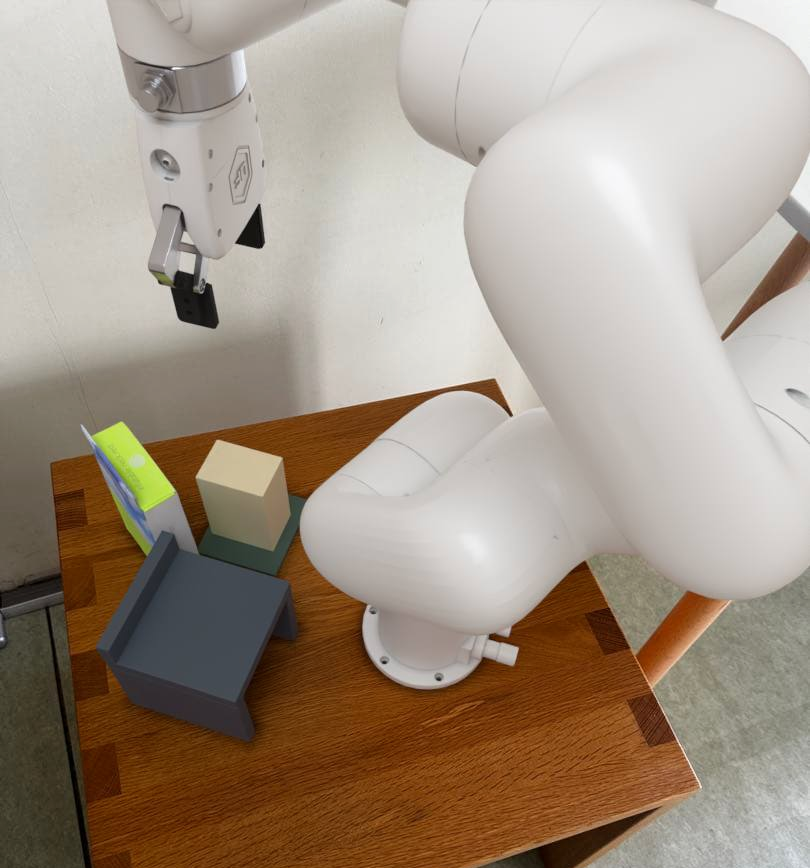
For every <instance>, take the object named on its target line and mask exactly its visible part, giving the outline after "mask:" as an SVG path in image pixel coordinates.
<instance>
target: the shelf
mask: <svg viewBox="0 0 810 868" xmlns="http://www.w3.org/2000/svg"><path fill="white" fill-rule="evenodd" d="M291 586H292V585H291V582H290V581H288V580H285V579H281V578H278V577H274V576H270V575H267V574H264V573H260V572H257V571H253V570H250V569H247V568H243V567H240V566H237V565H233V564H230V563H227V562H223V561H220V560H217V559H213V558H210V557H207V556H203V555H200V554H199V555H198V554H195V553H191V552H188V551H185V550H181V549H179V546H178V543H177V540H176V538H175V535H174V534H173V533H169V532H166V531H163V530H162V531H161V533H160V535H159V537H158V538H157V540H156V542H155V544H154V545H153V547H152V549H151V551H150V552H149V554H148V556H146V557H145V559H144V561H143V562H142V565H141V566H140V568H139V569H138V572H137V573H136V574H135V576H134V579H133V580H132V582H131V583H130V585H129V587H128V589H127V591H126V592H125V594H124V596H123V598H122V599H121V601H120V602H119V605H118V607H117V608H116V610H115V611H114V614H113V615H112V617H111V619H110V620H109V622H108V624H107V625H106V627H105V629H104V631H103V632H102V634H101V635H100V638H99V640H98V641H97V643H96V645H95V649H96V650H97V652H98V654H99V655H100V656H101V658H102V660H104V662H105V664H106V665H107V667H108V668H109V670H110V672H111V673H112V675H113V676H114V678H115V679H116V681H117V682H118V684H119V685H120V687H121V688H122V690H123V691H124V693H125V694H126V696H127V697H128V699H129V700H130V702H131V704H132V705H135V706H138V707H142V708H145V709H147V710H150V711H153V712H157V713H160V714H163V715H166V716H169V717H172V718H175V719H178V720H180V721H184V722H187V723H189V724H194V725H197V726H200V727H203V728H205V729H208V730H211V731H215V732H218V733H221V734H224V735H227V736H228V737H229V736H230V737H233V738H236V739H239V740H242V741H245V742H248V743H251V742H252V741H253V737H254V735H255V733H256V728H255V725H254V723H253V720H252V717H251V714H250V712H249V709H248V706H247V702H246V699H245V697H244V696H245V694H246V692H247V689H248V688H249V685H250V683H251V681H252V678H253V676H254V675H255V672H256V669H257V667H258V665H259V662H260V661H261V659H262V656H263V654H264V651H265V650H266V647H267V646H268V643H269V641H270V638H271V636H276V637H278V638H282V639H286V640H288V641H292V642H295V640H296V637H297V635H298V633H299V627H298V621H297V615H296V610H295V609H296V608H295V604H294V603H295V602H294V598H293V591H292V587H291Z"/></svg>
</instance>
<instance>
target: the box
mask: <svg viewBox="0 0 810 868" xmlns="http://www.w3.org/2000/svg"><path fill="white" fill-rule="evenodd" d="M79 427H80V429H81V431H82V433H83V435H84V436H85V438H86V439H87V441H88V444H89V445H90V448H91V450H92V452H93V455H94V457H95V459H96V461H97V463H98V466H99V468H100V470H101V473H102V475H103V478H104V480H105V482H106V484H107V487H108V489H109V491H110V493H111V496H112V499H113V501H114V504H115V505H116V508H117V510H118V512H119V514H120V517H121V519H122V521H123V524H124V526H125V528H126V530H127V531H128V533H130V535H131V536H132V538H133V539H134V540H135V541H136V543H137V545H139V547H140V549H141V550H142V552H143V553H144V554H145V556H146V557H147V556H148V554H149V552H150V551H151V549H152V547H153V545H154V544H155V542H156V540H157V538H158V537H159V535H160V533H161V531H162V530H163V531H166V532H169V533H173V534H174V535H175V538H176V540H177V543H178V546H179V549H181V550H185V551H188V552H191V553H195V554H198V555H200V554H199V552H198V549H197V547H198V546H197V544H196V541H195V538H194V535H193V533H192V530H191V527H190V524H189V522H188V521H189V520H188V519H187V516H186V513H185V511H184V508H183V505H182V503H181V500H180V496H179V493H178V491H177V490H176V488H175V487H174V486H173V484H172V483H171V481H170V480H169V479H168V478H167V477H166V475H165V473H164V472H163V471H162V470H161V468H160V467H159V466H158V464H157V463H156V461H154V459H153V458H152V457H151V455H150V454H149V452H148V451H147V450H146V448H145V447H144V446H143V445H142V443H141V442H140V441H139V439H138V438H137V437H136V436H135V434H134V433H133V432H132V430H131V429H130V428H129V427H128V426H127V425H126V423H124V422H123V421H122V420H121V421H119V422H117V423H115V424H113V425H111V426H109V427H108V428H105V429H103V430H101V431H99V432H96V433H95V434H93V435H91V434H90V433H89V432H88V431H87V429H86V428H85V426H84V425H83V424H79Z"/></svg>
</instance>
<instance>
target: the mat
mask: <svg viewBox="0 0 810 868" xmlns="http://www.w3.org/2000/svg"><path fill="white" fill-rule="evenodd" d="M288 499H289V506H290V513H291V515H290V517H289V519H288V522H287V524H286V526H285V528H284V530H283V532H282V534H281V536H280V538H279V540H278V543H277V545H276V547H275V549H274V551H269V550H266V549H263V548H259V547H256V546H253V545H249V544H246V543H242V542H239V541H236V540H232V539H229V538H225V537H222V536H219V535H215V534H212V531H211V528H210V525H209V524H208V527H207V528H206V531H205V533H204V534H203V536H202V538H201V540H200V542H199V544H198V546H197V549H198V552H199V555H201V556H205V557H208V558H211V559H215V560H218V561H221V562H225V563H228V564H231V565H235V566H238V567H241V568H245V569H248V570H251V571H255V572H258V573H261V574H265V575H268V576H271V577H275V578H277V576H278V573H279V571H280V570H281V566H282V565H283V563H284V560H285V559H286V556H287V554H288V552H289V549H290V547H291V546H292V543H293V541H294V539H295V536H296V535H297V532H298V530H299V529H300V518H301V513H302V510H303V508H304V505H305V503H306V502H307V500H308V498H303V497H300V496H296V495H292V494H290V493H288Z"/></svg>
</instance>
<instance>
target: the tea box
mask: <svg viewBox="0 0 810 868" xmlns="http://www.w3.org/2000/svg"><path fill="white" fill-rule="evenodd" d="M283 460H284V459H283V457H282V456H278V455H274V454H272V453H267V452H263V451H260V450H256V449H252V448H250V447H249V448H248V447H246V446H242V445H238V444H235V443H232V442H228V441H225V440H220V439H216V440H215V442H214V444H213V446H212V447H211V449H210V451H209V453H208V454H207V456H206V458H205V460H204V461H203V462H202V465H201V466H200V469H199V470H198V472H197V473H196V475H195V482H196V484H197V487H198V491H199V494H200V497H201V498H200V499H201V501H202V505H203V508H204V511H205V515H206V517H207V521H208V526H209V525H210V528H211V531H212V534H215V535H219V536H222V537H225V538H229V539H232V540H236V541H239V542H242V543H246V544H249V545H253V546H256V547H259V548H263V549H266V550H269V551H274V549H275V547H276V545H277V543H278V540H279V538H280V536H281V534H282V532H283V530H284V528H285V526H286V524H287V522H288V519H289V517H290V515H291V513H290V506H289V499H288V494H289V493H288V487H287V480H286V472H285V465H284V461H283Z"/></svg>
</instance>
